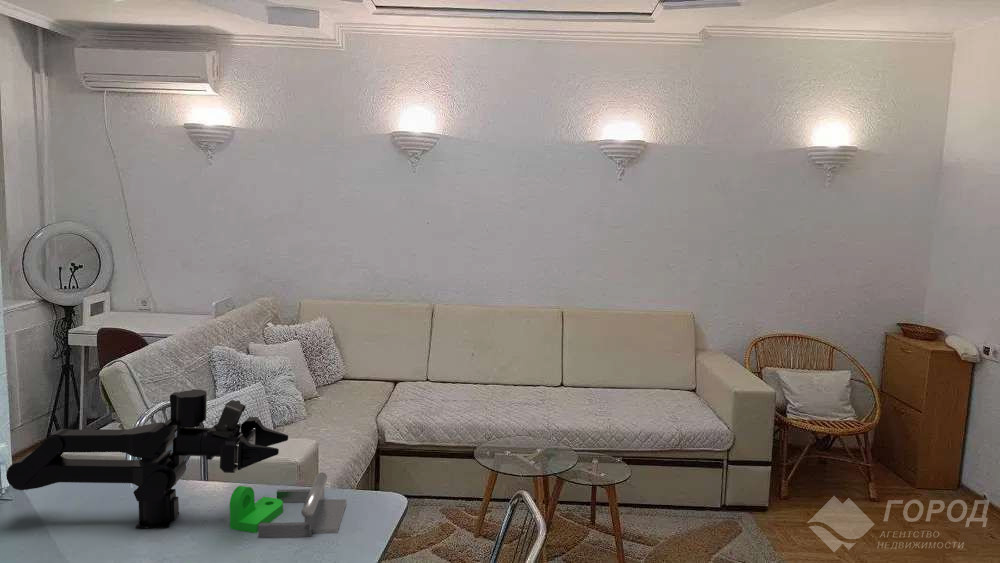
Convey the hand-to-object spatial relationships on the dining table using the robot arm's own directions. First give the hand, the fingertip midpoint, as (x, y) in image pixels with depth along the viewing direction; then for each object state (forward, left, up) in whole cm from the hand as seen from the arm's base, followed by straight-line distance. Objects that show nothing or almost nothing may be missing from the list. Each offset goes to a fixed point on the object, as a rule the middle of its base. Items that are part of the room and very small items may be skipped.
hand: (283, 444), depth 144 cm
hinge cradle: (+4, +1, -16) cm, 17 cm away
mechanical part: (-5, +1, -17) cm, 18 cm away
